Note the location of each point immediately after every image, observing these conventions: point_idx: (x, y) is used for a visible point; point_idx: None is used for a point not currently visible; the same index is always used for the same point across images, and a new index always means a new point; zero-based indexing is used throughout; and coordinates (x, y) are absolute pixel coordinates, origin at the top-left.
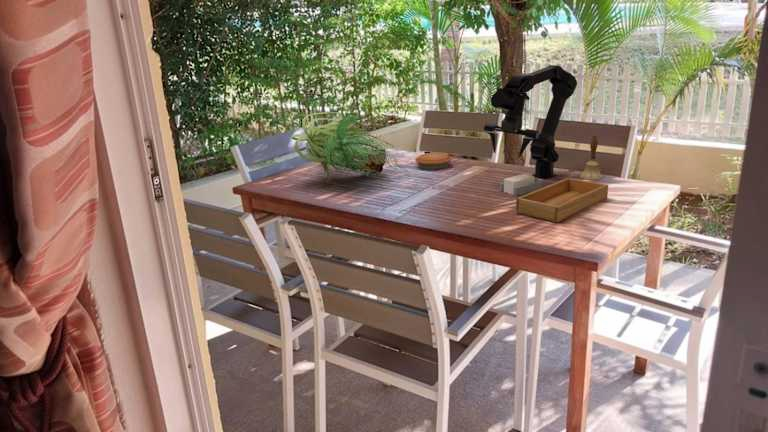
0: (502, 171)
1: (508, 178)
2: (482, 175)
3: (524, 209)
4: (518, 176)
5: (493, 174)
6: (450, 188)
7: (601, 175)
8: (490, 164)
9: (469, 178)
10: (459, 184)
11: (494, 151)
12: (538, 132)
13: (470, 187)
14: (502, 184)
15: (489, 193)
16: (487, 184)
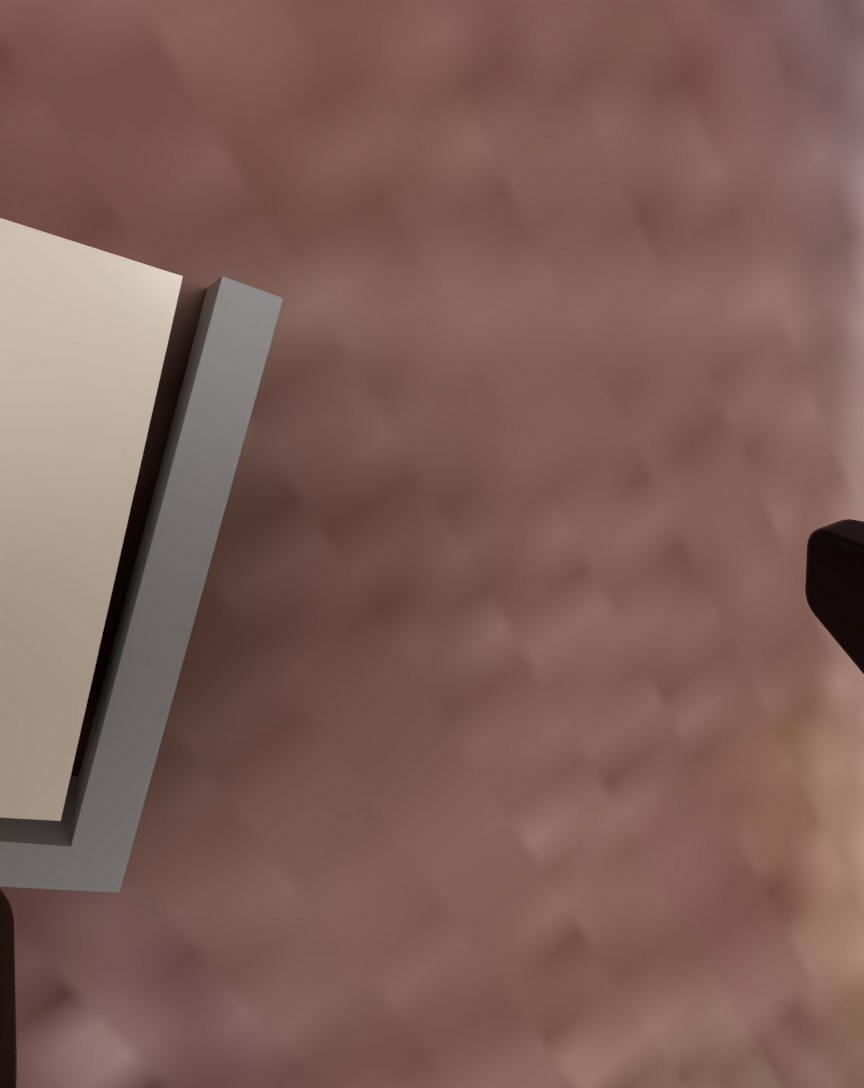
0: (645, 1001)
1: (122, 360)
2: (756, 753)
3: None
4: (34, 600)
5: (676, 858)
6: (850, 87)
7: None
8: (837, 1078)
9: None
10: (827, 304)
11: (849, 533)
12: None
13: (672, 256)
14: (214, 301)
15: (314, 108)
16: (554, 492)
